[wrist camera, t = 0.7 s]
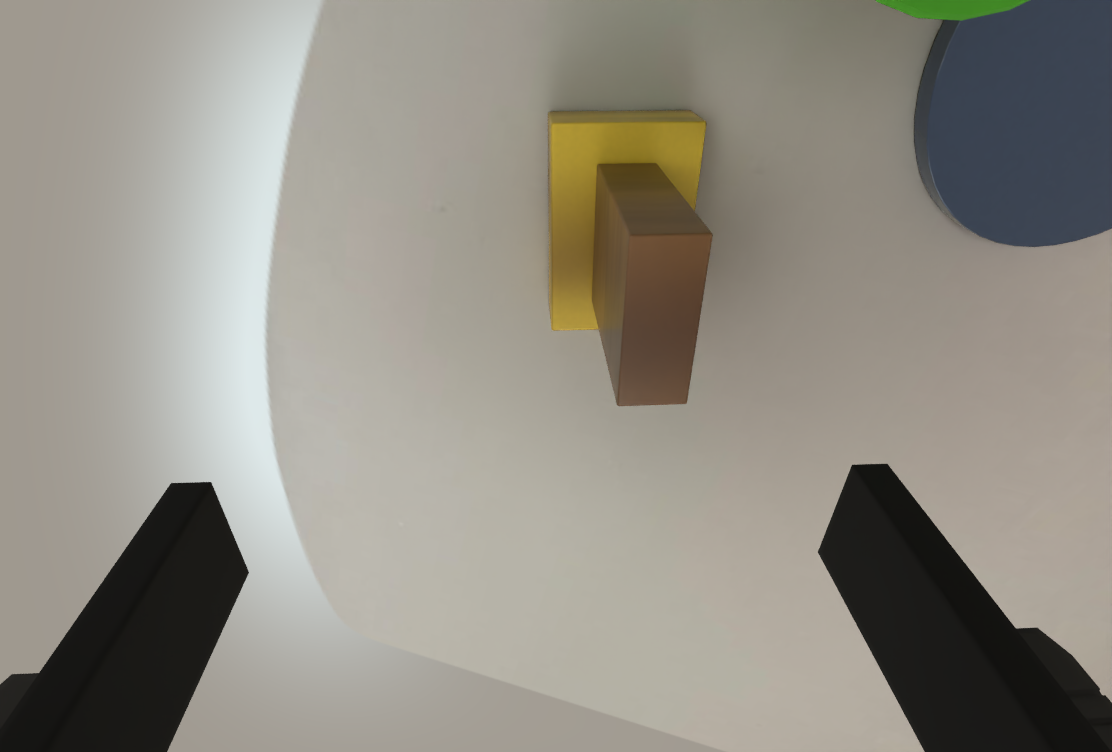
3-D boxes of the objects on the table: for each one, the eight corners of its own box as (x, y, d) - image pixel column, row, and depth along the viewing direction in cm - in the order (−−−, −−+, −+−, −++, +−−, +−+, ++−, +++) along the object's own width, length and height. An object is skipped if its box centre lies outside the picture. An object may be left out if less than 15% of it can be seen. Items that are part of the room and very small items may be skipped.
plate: (1000, -180, 20) (1021, -187, 19) (1409, -174, 21) (1446, -180, 20) (870, 242, 28) (880, 250, 27) (1165, 236, 29) (1184, 244, 28)
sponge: (547, 111, 24) (565, 181, 16) (691, 109, 25) (788, 178, 16) (549, 306, 29) (563, 443, 20) (668, 303, 30) (732, 437, 21)
